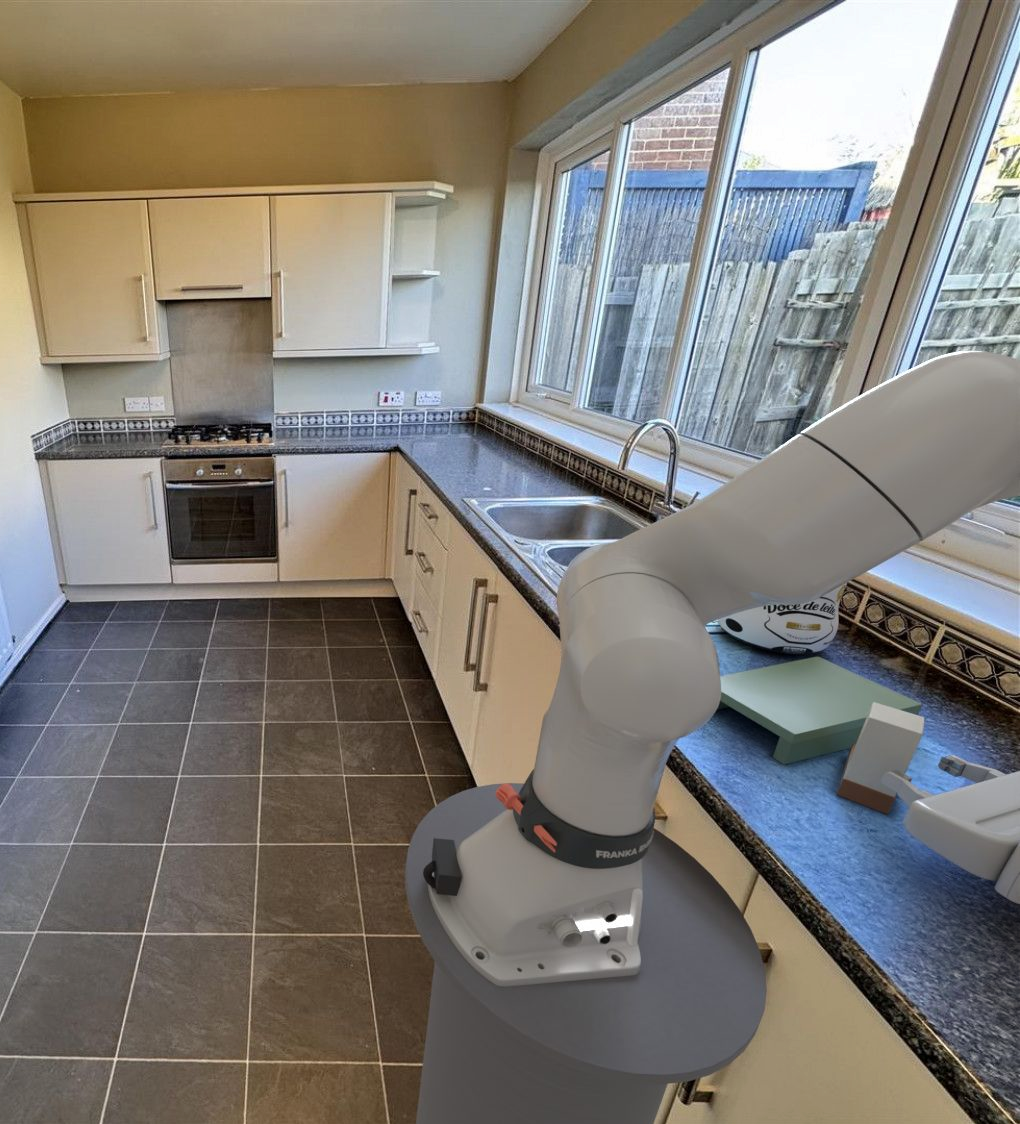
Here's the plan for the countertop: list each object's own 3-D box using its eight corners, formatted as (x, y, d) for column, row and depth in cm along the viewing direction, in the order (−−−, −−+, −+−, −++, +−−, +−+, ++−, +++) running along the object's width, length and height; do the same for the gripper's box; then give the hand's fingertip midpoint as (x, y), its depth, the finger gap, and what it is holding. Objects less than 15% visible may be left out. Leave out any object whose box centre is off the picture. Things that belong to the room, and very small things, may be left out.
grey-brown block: (888, 814, 75) (924, 735, 71) (836, 794, 78) (867, 717, 74) (894, 775, 81) (928, 699, 77) (846, 758, 84) (876, 685, 80)
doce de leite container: (792, 672, 105) (826, 575, 98) (691, 629, 120) (715, 542, 113) (849, 650, 111) (884, 557, 105) (747, 612, 126) (772, 528, 119)
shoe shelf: (784, 764, 83) (795, 734, 82) (693, 707, 96) (700, 679, 94) (910, 733, 89) (922, 704, 87) (808, 682, 102) (818, 656, 100)
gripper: (1168, 812, 61) (986, 730, 74) (1032, 858, 57) (862, 762, 69) (1136, 860, 64) (965, 772, 76) (1003, 908, 59) (843, 806, 71)
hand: (915, 767), depth 73 cm, fingers open, 8 cm apart
